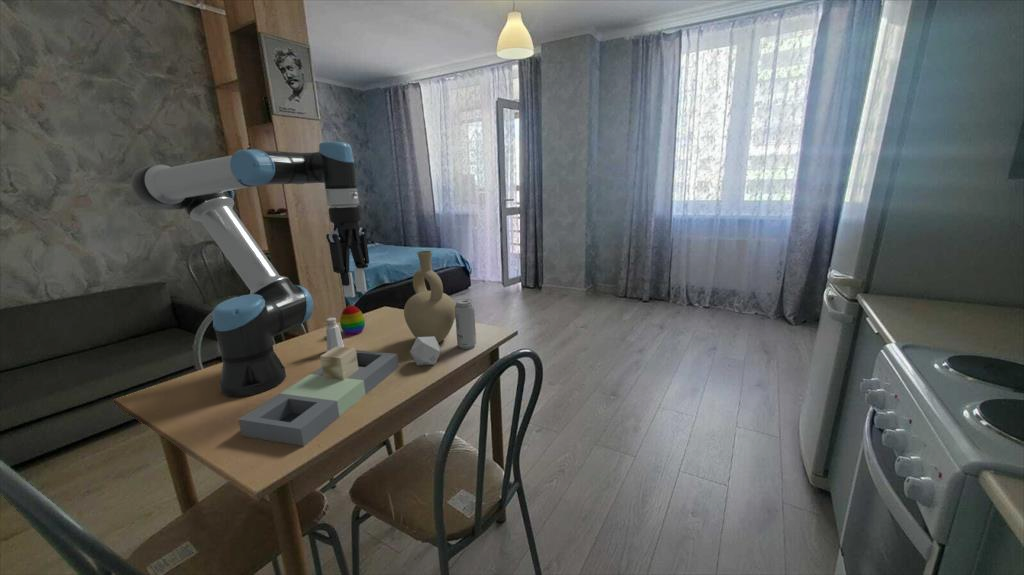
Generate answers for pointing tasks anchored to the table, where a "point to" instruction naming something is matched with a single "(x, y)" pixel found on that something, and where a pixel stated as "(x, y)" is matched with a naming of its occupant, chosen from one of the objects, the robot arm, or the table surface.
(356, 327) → the decorative egg
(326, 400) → the board
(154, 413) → the table surface
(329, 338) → the pepper shaker
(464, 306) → the energy drink can
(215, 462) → the table surface
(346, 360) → the birch block
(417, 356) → the die
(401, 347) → the table surface
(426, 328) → the vase
